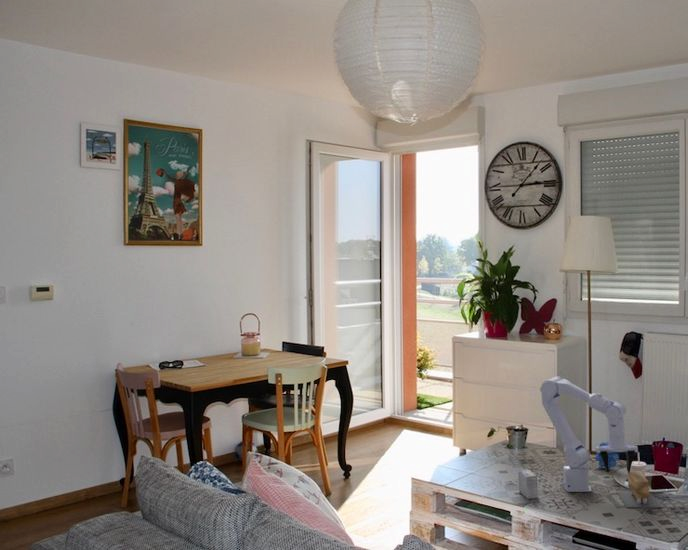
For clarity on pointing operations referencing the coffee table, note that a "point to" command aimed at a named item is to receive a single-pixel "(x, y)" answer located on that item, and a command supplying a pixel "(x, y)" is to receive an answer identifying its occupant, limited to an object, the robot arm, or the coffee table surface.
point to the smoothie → (638, 466)
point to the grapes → (611, 457)
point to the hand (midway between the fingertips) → (617, 471)
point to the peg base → (638, 501)
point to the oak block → (638, 484)
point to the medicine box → (528, 484)
